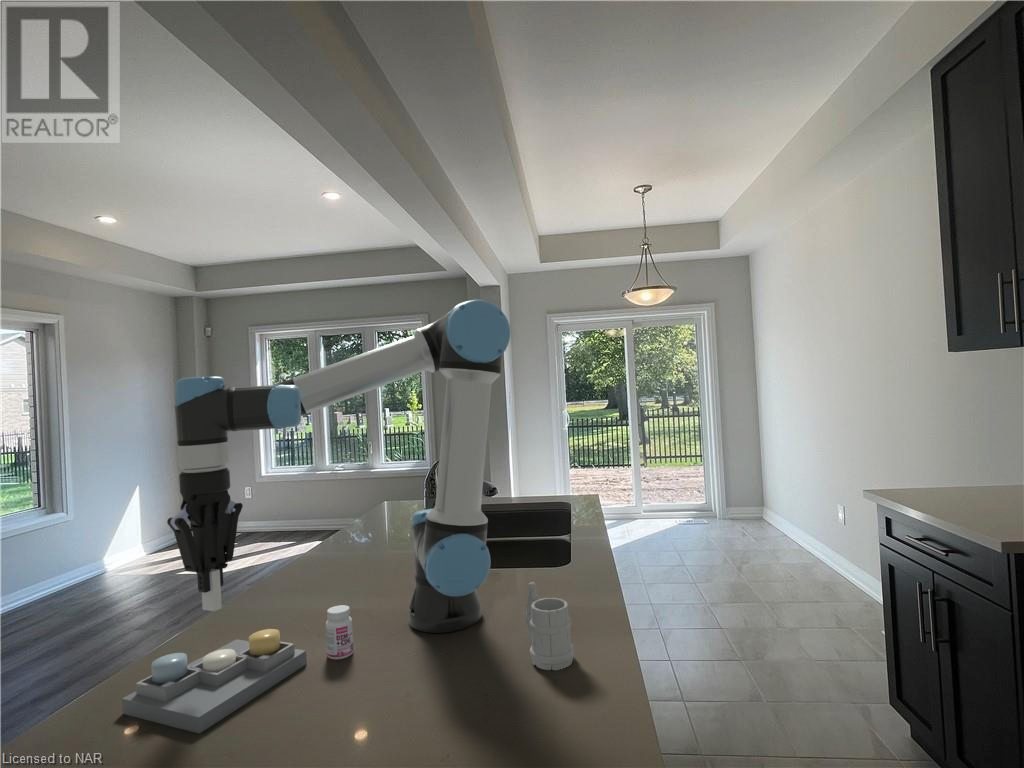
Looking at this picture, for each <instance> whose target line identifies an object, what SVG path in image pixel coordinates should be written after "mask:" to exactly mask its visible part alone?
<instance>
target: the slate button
mask: <svg viewBox="0 0 1024 768" xmlns="http://www.w3.org/2000/svg"><path fill="white" fill-rule="evenodd" d="M150 665H151V675H152V681H153V682H156V683H163V682H169V681H173V680H176V679H178V678H180V677H182V676H184V675H185V674H186V673H187V672H188V655H187V653H184V652H174V653H169V654H166V655H163V656H160V657H158V658H155V659H154V660H153V661H152V662H151V664H150Z"/></svg>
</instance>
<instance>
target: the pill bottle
mask: <svg viewBox="0 0 1024 768" xmlns="http://www.w3.org/2000/svg"><path fill="white" fill-rule="evenodd" d="M350 609H351V608H350V606H349V605H346V604H345V605H344V604H342V605H341V604H340V605H335V606H332V607H329V608H328V609H327V611H326V614H327V615H326V618H327V620H326V622H325V637H326V638H325V640H326V641H325V642H326V656H327V658H328V659H331V660H343V659H346V658H348V657H350V656H352V655H353V653H354V634H353V633H354V631H353V619H352V617H351V616H350V615H351V611H350Z"/></svg>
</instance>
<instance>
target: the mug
mask: <svg viewBox="0 0 1024 768" xmlns="http://www.w3.org/2000/svg"><path fill="white" fill-rule="evenodd" d="M525 610H526V612H525V623H526V631H527V634H528V635H529V639H530V642H531V646H530V648H529V654H530V655H529V656H530V657H531V662H532V664H533V666H536V668H538V669H539V670H542V671H543V670H544V671H551V670H552V671H553V670H554V671H560V669H561V670H564V669H566V667H567V668H569V667H570V666H571V665H572V663H573V660H574V658H573V657H574V656H575V648H574V645H573V644H572V636H571V635H572V634H571V627H572V624H573V623H572V619H571V618H570V615H569V614H570V613H569V604H568V602H567V601H566V600H564V599H562V598H557V597H551V598H550V597H544V598H540V597H539V594H538V589H537V585H536V583H535V582H534V581H532V582H528V594H527V601H526V608H525ZM563 668H564V669H563Z"/></svg>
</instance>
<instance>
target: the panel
mask: <svg viewBox="0 0 1024 768" xmlns="http://www.w3.org/2000/svg"><path fill="white" fill-rule="evenodd" d="M222 649H233V650H235V652H236V663H234V664H233V665H231V666H229V667H227V668H225V669H224V670H222V671H220V672H218V673H215V672H210V671H205V670H204V669H203V658H204V656H206V655H207V654H205V655H204V656H202V657H200V658H198V659H196V660H193V661H192V662H190V663H187V665H188V672H187V673H186V674H185V675H184V676H182V677H180V678H178V679H176V680H173V681H169V682H163V683H156V682H153V681H152V674H151V675H149V676H147V677H145V678H143V679H141V680H139V681H138V682H135V691H134V692H131V693H129V694H128V695H126V696H124V697H122V698H121V709H122V715H126V716H129V717H134V718H138V719H141V720H146V721H149V722H152V723H153V722H154V723H156V724H161V725H165V726H169V727H172V728H176V729H180V730H183V731H187V732H191V733H196V734H201V733H203V732H204V731H206V730H209V728H211V727H212V726H213V725H215V724H217V723H218V722H220V721H221V720H223V719H224V718H227V717H228V716H229V715H230V714H232V713H233V712H236V711H237V710H238V709H239V708H241V707H242V706H243V707H244V705H246V704H247V703H249V702H250V701H252V700H254V699H255V698H257V697H258V696H260V695H262V694H263V693H265V692H266V691H268V690H269V689H271V688H272V687H273V686H275V685H277V684H278V683H280V682H282V681H283V680H284V679H286V678H287V677H289V676H290V675H292V674H294V673H295V672H297V671H298V670H300V669H301V668H303V667H304V666H306V665H307V664H308V663H307V662H308V661H307V650H305V649H304V650H303V649H298V648H295V643H291V642H285V641H280V647H279V649H277V650H276V651H274V652H271V653H269V654H264V655H252V654H250V653H249V640H245V639H243V640H242V639H238V638H236V639H234V640H232V641H230V642H229V643H227V644H225V645H223V646H221V647H219V648H217V649H215V650H213V651H212V652H214V651H218V650H222Z"/></svg>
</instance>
